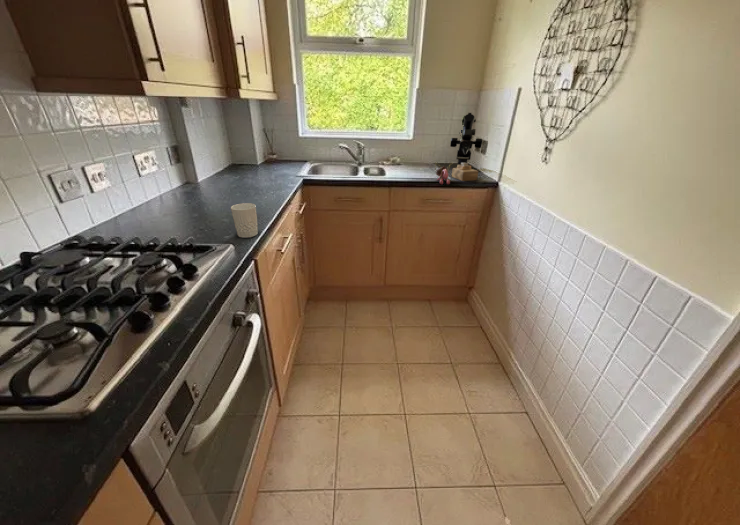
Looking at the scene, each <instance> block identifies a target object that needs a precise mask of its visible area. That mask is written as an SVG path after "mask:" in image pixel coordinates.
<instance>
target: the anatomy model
mask: <svg viewBox="0 0 740 525" xmlns="http://www.w3.org/2000/svg"><path fill="white" fill-rule="evenodd" d="M438 163H439V162H438V161H434V164H435V165H434V169H436V168H437V166H438V168H437V169H436V170H434V172H435V174H436V176H437V177H438V178H437V179H436V181H439V185H443V184H444V180H445V181H446V185H450V184H451V180H450V179H449V176H450V174H449V171H450V168H451V165H453V164H454V162H453V161H451V163H450V164H449V165H448V166H447V167H446V166H445V165H442V166H441V165H440V164H438Z"/></svg>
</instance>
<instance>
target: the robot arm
mask: <svg viewBox="0 0 740 525" xmlns="http://www.w3.org/2000/svg"><path fill="white" fill-rule="evenodd" d="M461 121H462V125H464V126H463V130H461V133H462V136H461V137H460V138H461V139H460V140H459V139H458V138H459V137H451V138H450V146H449V147H451V148H456V147H457V145H459V146H458V149H457V151H456V156H455V157H456V160H457V165H461V163H468V161H470V160H471V156H472V151H471V149H472V148H473V145H474V148H476V149H481V148H482V146H483V140H484V139H483V138H477V137H476V138H475V140H472V139H473V136H475V135H476V130H477V129H476V128H473V126H474V124H475V123H476V122H477V120H476V118H475V115H474V114H472V112H467V114H465V115H463V116H462V117H461ZM454 168H457V166H455V167H454Z"/></svg>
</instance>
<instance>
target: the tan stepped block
mask: <svg viewBox="0 0 740 525" xmlns="http://www.w3.org/2000/svg"><path fill="white" fill-rule="evenodd" d="M456 167H457V168H455V167H452V170H451V178H454V179H456V180H459V181H462V182H467V181H478V175H479V170H478V169H477V170H476V169H473V168H472V165H469V164H468V166H462V165H457V166H456Z"/></svg>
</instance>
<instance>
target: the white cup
mask: <svg viewBox="0 0 740 525" xmlns="http://www.w3.org/2000/svg"><path fill="white" fill-rule="evenodd" d="M230 211H231V215H232V220H233V224H234V227H235V231H236V234H237V237H239V238H243V239H247V238H252V237H256V236H257V235H258V233H259V229H258V214H257V205H256V204H254V203H251V202H244V203H237V204H234V205H232V206H230Z"/></svg>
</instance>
